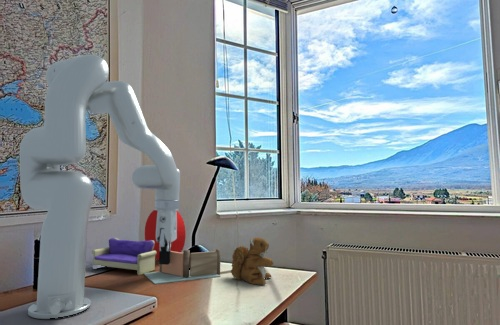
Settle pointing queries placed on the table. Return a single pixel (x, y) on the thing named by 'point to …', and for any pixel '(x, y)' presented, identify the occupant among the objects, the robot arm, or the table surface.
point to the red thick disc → (151, 233)
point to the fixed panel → (201, 263)
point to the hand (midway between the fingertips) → (164, 263)
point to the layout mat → (173, 277)
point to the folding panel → (173, 264)
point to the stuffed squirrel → (251, 262)
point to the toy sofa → (127, 255)
